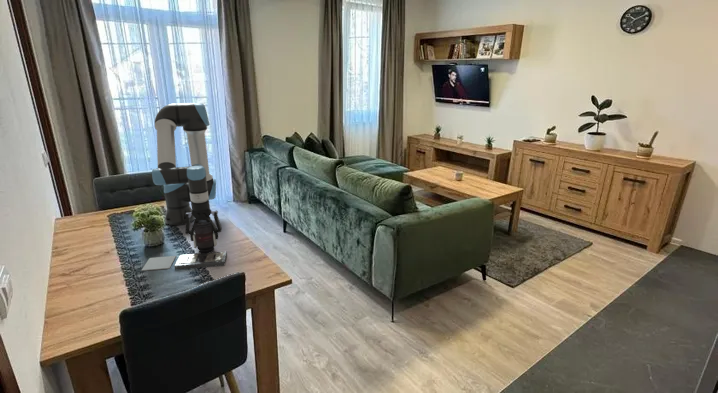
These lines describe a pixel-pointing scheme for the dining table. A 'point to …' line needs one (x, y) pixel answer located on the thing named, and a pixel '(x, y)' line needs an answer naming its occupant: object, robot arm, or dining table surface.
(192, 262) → the psu chassis
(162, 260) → the rubber mat
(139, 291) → the dining table surface
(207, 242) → the camera lens
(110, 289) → the dining table surface
